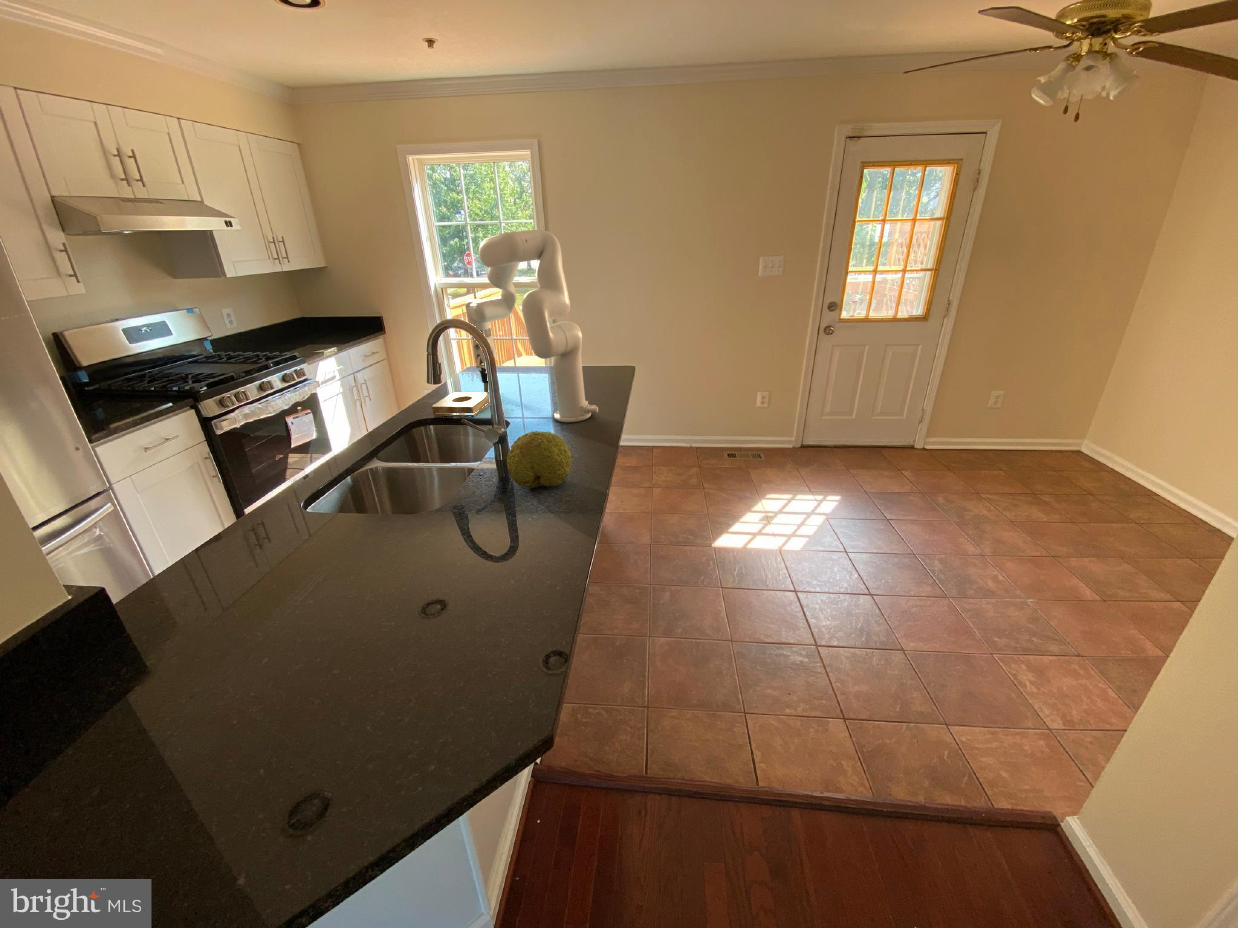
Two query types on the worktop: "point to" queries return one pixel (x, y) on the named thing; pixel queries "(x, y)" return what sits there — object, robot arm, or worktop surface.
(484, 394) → the stand
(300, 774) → the worktop surface
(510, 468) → the fruit
